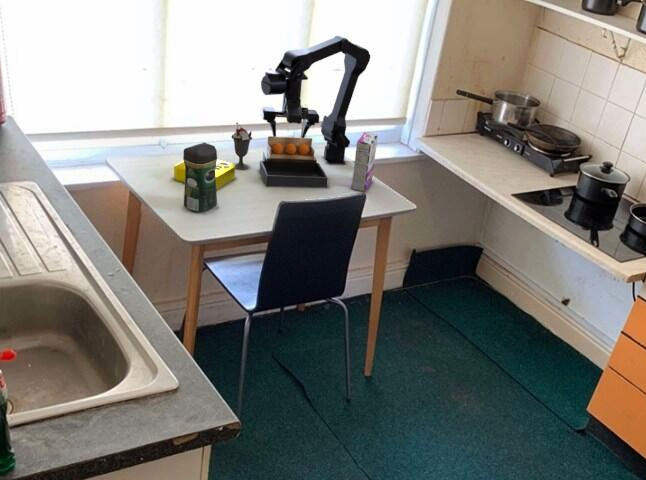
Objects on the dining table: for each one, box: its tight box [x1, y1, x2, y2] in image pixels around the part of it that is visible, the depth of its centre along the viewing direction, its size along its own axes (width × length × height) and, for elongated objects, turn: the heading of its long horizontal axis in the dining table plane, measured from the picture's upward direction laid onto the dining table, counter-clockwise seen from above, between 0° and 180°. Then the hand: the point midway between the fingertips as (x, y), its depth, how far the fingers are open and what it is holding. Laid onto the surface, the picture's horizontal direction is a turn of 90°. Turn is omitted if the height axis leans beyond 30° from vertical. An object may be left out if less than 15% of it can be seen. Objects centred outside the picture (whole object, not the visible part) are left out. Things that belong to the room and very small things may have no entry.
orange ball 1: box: [272, 143, 283, 154], centre depth 254 cm, size 4×4×4 cm
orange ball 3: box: [298, 144, 309, 155], centre depth 256 cm, size 4×4×4 cm
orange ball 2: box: [286, 144, 296, 154], centre depth 255 cm, size 4×4×4 cm
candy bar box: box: [351, 131, 379, 193], centre depth 254 cm, size 11×5×16 cm, turn 168°
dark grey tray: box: [259, 160, 329, 189], centre depth 254 cm, size 20×13×4 cm, turn 107°
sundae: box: [231, 122, 253, 171], centre depth 252 cm, size 7×7×15 cm
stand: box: [262, 150, 318, 163], centre depth 258 cm, size 17×7×6 cm, turn 107°
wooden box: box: [266, 135, 315, 160], centre depth 254 cm, size 15×6×6 cm, turn 107°
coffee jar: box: [182, 142, 218, 213], centre depth 221 cm, size 10×8×19 cm
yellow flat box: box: [173, 159, 236, 190], centre depth 243 cm, size 15×15×5 cm
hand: (288, 140), depth 258 cm, fingers open, 9 cm apart
